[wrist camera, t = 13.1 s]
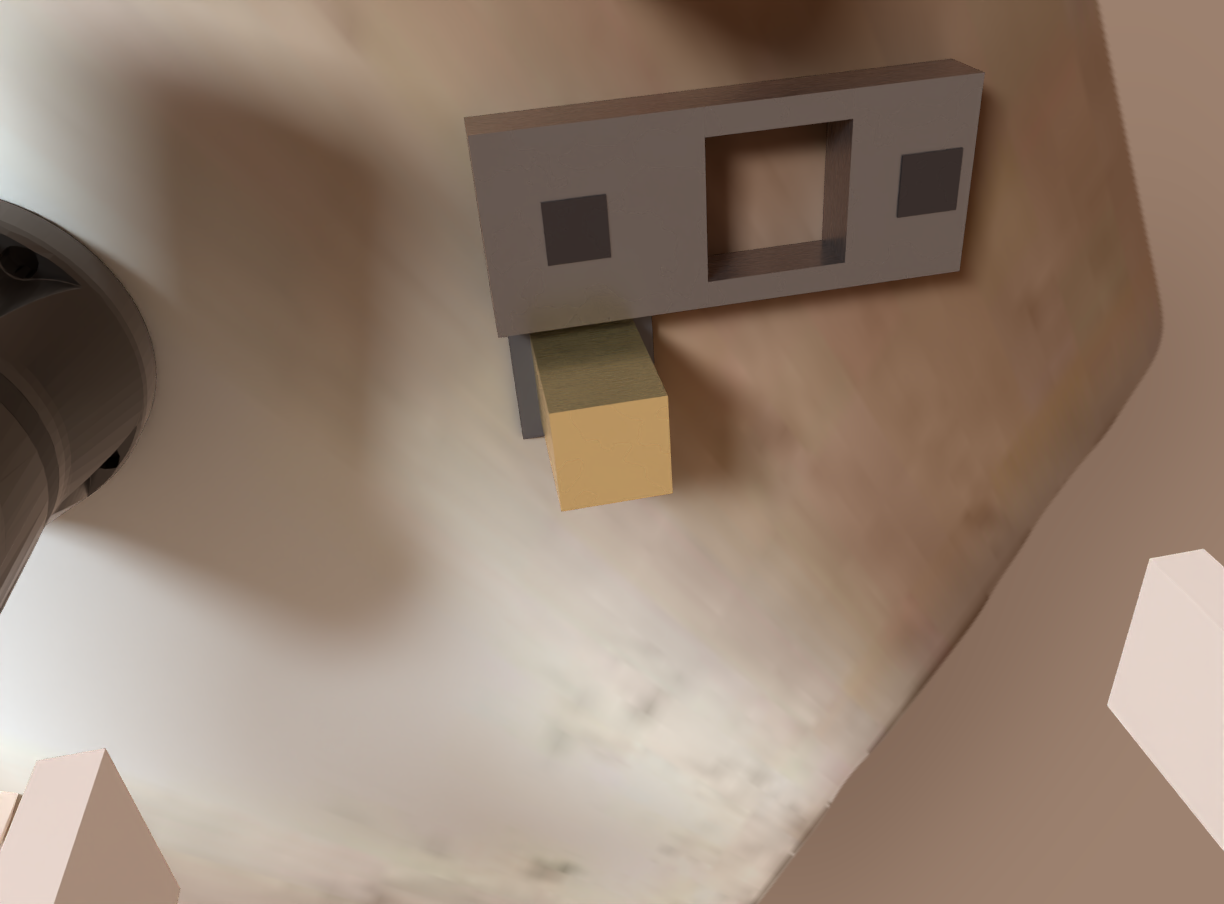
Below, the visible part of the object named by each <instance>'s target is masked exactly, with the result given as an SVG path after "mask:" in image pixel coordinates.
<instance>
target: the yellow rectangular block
mask: <svg viewBox="0 0 1224 904" xmlns="http://www.w3.org/2000/svg"><path fill="white" fill-rule="evenodd" d="M529 335H530V342H531V350H532V357H533V365H534V372H535V380H536V387H537V395H538V402H539V410H540V417H541V423H542V427H543V432H544V436H545V441H546V445H547V449H548V454H549V458H550V463H551V467H552V472H553V476H554V481H555V485H556V490H557V494H558V498H559V503H560V507H561V511H568V510H574V509H580V508H586V507H592V506H598V505H604V504H610V503H616V502H622V501H628V500H634V499H641V498H647V497H653V496H659V495H665V494H671V493H673V489H672V469H671V449H670V429H669V409H668V395H667V393H666V390H665V388H664V386H663V384H662V382H661V380H660V377H659V375H658V373H657V371H656V369H655V367H654V364H653V362H652V360H651V358H650V356H649V354H648V351H647V349H646V347H645V345H644V343H643V341H642V338H641V336H640V334H639V332H638V330H637V328H636V325H635V323H634V321H633V319H632V318H631V319H624V320H617V321H610V322H604V323H597V324H590V325H583V326H576V327H569V328H562V329H555V330H548V331H541V332H534V333H529Z"/></svg>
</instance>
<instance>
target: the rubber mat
mask: <svg viewBox="0 0 1224 904" xmlns="http://www.w3.org/2000/svg"><path fill="white" fill-rule="evenodd" d="M632 319H633V321H634V323H635V325H636V328H637V330H638V332H639V334H640V336H641V338H642V341H643V343H644V345H645V347H646V349H647V351H648V354H649V356H650V358H651V360H652V362H653V364H654V351H653V333H652V316H645V317H638V318H632ZM508 339H509V346H510V353H511V359H512V366H513V373H514V380H515V386H516V393H517V400H518V407H519V414H520V420H521V427H522V434H523V439H529V438H535V437H541V436H544V432H543V427H542V423H541V417H540V410H539V402H538V395H537V387H536V380H535V372H534V365H533V357H532V350H531V342H530V335H529V333H528V334H521V335H514V336H508Z"/></svg>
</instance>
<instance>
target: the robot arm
mask: <svg viewBox="0 0 1224 904" xmlns="http://www.w3.org/2000/svg"><path fill="white" fill-rule="evenodd" d="M155 388H156V364H155V357H154V351H153V347H152V343H151V340H150V336H149V333H148V330H147V328H146V325H145V323H144V321H143V318H142V316H141V314H140V312H139V311H138V309H137V307H136V305H135V303H134V302H133V300H132V298H131V297H130V295H129V294H128V292H127V291H126V290H125V288H124V287H123V285H122V284H121V283H120V282H119V280H118V279H117V278H116V277H115V275H114V274H113V273H112V272H111V271H110V270H109V269H108V268H107V267H106V266H105V265H104V264H103V263H102V262H101V261H100V260H99V259H98V258H97V257H96V256H95V255H94V254H93V253H92V252H91V251H89V250H88V249H87V248H86V247H85V246H84V245H82V244H81V243H80V242H78V241H77V240H76V239H74V238H73V237H72V236H70V235H69V234H67V233H66V232H64V231H63V230H61V229H60V228H58V227H57V226H55V225H53V224H52V223H50V222H48V221H46V220H45V219H43V218H41V217H39V216H37V215H35V214H33V213H31V212H29V211H27V210H25V209H22V208H20V207H18V206H15V205H13V204H10V203H8V202H5V201H2V200H0V614H1V612H2V610H3V608H4V606H5V604H6V602H7V600H8V598H9V596H10V594H11V592H12V591H13V589H14V587H15V585H16V583H17V581H18V579H19V577H20V575H21V573H22V571H23V569H24V567H25V565H26V563H27V561H28V559H29V557H30V555H31V553H32V551H33V549H34V547H35V546H36V544H37V542H38V539H39V537H40V535H41V533H42V531H43V529H44V527H45V525H47V524H48V523H50V522H51V521H53V520H54V519H55V518H57V517H58V516H60V515H61V514H63V513H64V512H66V511H67V510H69V509H70V508H72V507H73V506H74V505H76V504H77V503H79V502H80V501H82V500H83V499H85V498H86V497H88V496H89V495H90V494H92V493H93V492H95V491H96V490H98V489H99V488H100V487H101V486H102V485H104V484H105V483H106V482H107V481H108V480H109V479H110V478H111V477H112V476H113V475H114V474H115V473H116V472H117V471H118V470H119V469H120V468H121V466H122V465H123V464H124V463H125V461H126V460H127V458H128V457H129V456H130V454H131V453H132V451H133V449H134V447H135V445H136V443H137V441H138V439H139V437H140V435H141V432H142V430H143V428H144V426H145V424H146V421H147V419H148V417H149V414H150V411H151V408H152V405H153V400H154V396H155ZM1107 706H1108V707H1109V709H1110V710H1111V711H1112V712H1113V714H1114V715H1115V716H1116V717H1117V719H1118V720H1119V721H1120V722H1121V724H1122V725H1123V726H1124V727H1125V728H1126V730H1127V731H1128V732H1129V733H1130V735H1131V736H1132V737H1133V738H1134V740H1135V741H1136V742H1137V743H1138V745H1139V746H1140V747H1141V748H1142V750H1143V751H1144V752H1145V753H1146V755H1147V756H1148V757H1149V758H1150V760H1151V761H1152V762H1153V763H1154V765H1155V766H1156V767H1157V768H1158V770H1159V771H1160V772H1161V773H1162V775H1163V776H1164V777H1165V778H1166V780H1167V781H1168V782H1169V783H1170V785H1171V786H1172V787H1173V788H1174V790H1175V791H1176V792H1177V793H1178V795H1179V796H1180V797H1181V798H1182V800H1183V801H1184V802H1185V803H1186V805H1187V806H1188V807H1189V808H1190V810H1191V811H1192V812H1193V813H1194V814H1195V816H1196V817H1197V818H1198V820H1199V821H1200V822H1201V823H1202V824H1203V826H1204V827H1205V828H1206V830H1207V831H1208V832H1209V833H1210V835H1211V836H1212V837H1213V838H1214V840H1215V841H1216V842H1217V843H1218V845H1219V846H1220V847H1221V848H1222V850H1223V851H1224V567H1223V566H1222V565H1221V564H1220V563H1219V562H1218V561H1217V560H1216V559H1214V558H1213V557H1212V556H1211V555H1210V554H1209V553H1208V552H1207V551H1206V550H1204V549H1200V550H1195V551H1189V552H1183V553H1178V554H1172V555H1167V556H1161V557H1156V558H1150V559H1149V563H1148V566H1147V570H1146V573H1145V577H1144V580H1143V583H1142V587H1141V590H1140V594H1139V597H1138V601H1137V604H1136V607H1135V611H1134V614H1133V618H1132V621H1131V625H1130V628H1129V632H1128V635H1127V638H1126V642H1125V645H1124V649H1123V652H1122V656H1121V659H1120V663H1119V666H1118V670H1117V673H1116V677H1115V680H1114V683H1113V687H1112V690H1111V693H1110V697H1109V700H1108V704H1107ZM179 893H180V887H179V885H178V883H177V881H176V880H175V878H174V876H173V874H172V872H171V870H170V868H169V866H168V865H167V863H166V861H165V859H164V857H163V855H162V853H161V851H160V850H159V848H158V846H157V844H156V842H155V840H154V838H153V836H152V835H151V833H150V831H149V829H148V827H147V825H146V823H145V821H144V820H143V818H142V816H141V814H140V812H139V810H138V808H137V806H136V805H135V803H134V801H133V799H132V797H131V795H130V793H129V791H128V790H127V788H126V786H125V784H124V782H123V780H122V778H121V776H120V775H119V773H118V771H117V769H116V767H115V765H114V763H113V761H112V760H111V758H110V756H109V754H108V752H107V750H106V748H104V749H98V750H93V751H87V752H82V753H76V754H71V755H65V756H60V757H54V758H49V759H43V760H38V761H36V763H35V766H34V768H33V771H32V773H31V776H30V778H29V781H28V783H27V786H26V788H25V791H24V793H23V796H22V798H21V801H20V803H19V806H18V808H17V811H16V813H15V816H14V818H13V821H12V823H11V826H10V828H9V831H8V833H7V836H6V838H5V841H4V843H3V846H2V848H1V851H0V904H177V902H178V897H179Z"/></svg>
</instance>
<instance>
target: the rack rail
mask: <svg viewBox="0 0 1224 904" xmlns="http://www.w3.org/2000/svg"><path fill="white" fill-rule="evenodd" d="M984 74H985V72H983V71H980V70H978V69H975V68H973V67H970V66H968V65H966V64H963V63H961V62H958V61H956V60H954V59H947V60H938V61H930V62H922V63H913V64H905V65H897V66H888V67H880V68H872V69H864V70H855V71H847V72H839V73H830V74H822V75H814V76H805V77H797V78H789V79H780V80H772V81H764V82H756V83H747V84H739V85H731V86H722V87H714V88H706V89H697V90H689V91H681V92H673V93H664V94H656V95H648V96H639V97H631V98H623V99H614V100H606V101H598V102H590V103H581V104H573V105H565V106H556V107H548V108H540V109H531V110H523V111H515V112H507V113H498V114H490V115H482V116H473V117H465V118H464V121H465V127H466V134H467V140H468V147H469V153H470V160H471V166H472V173H473V179H474V186H475V192H476V199H477V205H478V212H479V218H480V225H481V231H482V238H483V244H484V251H485V257H486V264H487V270H488V277H489V283H490V290H491V296H492V303H493V309H494V315H495V321H496V326H497V332H498V338H500V337H507V336H514V335H521V334H528V333H534V332H541V331H548V330H555V329H562V328H569V327H576V326H583V325H590V324H597V323H604V322H610V321H617V320H624V319H631V318H638V317H645V316H652V315H659V314H666V313H673V312H680V311H686V310H693V309H700V308H707V307H714V306H721V305H728V304H735V303H742V302H749V301H755V300H762V299H769V298H776V297H783V296H790V295H797V294H804V293H811V292H818V291H825V290H831V289H838V288H845V287H852V286H859V285H866V284H873V283H880V282H887V281H894V280H901V279H907V278H914V277H921V276H928V275H935V274H942V273H949V272H956V271H959V270H960V262H961V254H962V247H963V239H964V231H965V223H966V215H967V207H968V199H969V192H970V184H971V176H972V168H973V160H974V152H975V145H976V137H977V129H978V121H979V113H980V105H981V97H982V90H983V82H984ZM824 122H827V140H826V162H825V185H824V207H823V229H822V240H819V241H812V242H805V243H798V244H791V245H783V246H776V247H769V248H762V249H755V250H748V251H740V252H733V253H726V254H719V255H712V256H707V214H706V170H705V137H713V136H721V135H729V134H737V133H744V132H752V131H760V130H768V129H776V128H784V127H792V126H800V125H808V124H816V123H824Z"/></svg>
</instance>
